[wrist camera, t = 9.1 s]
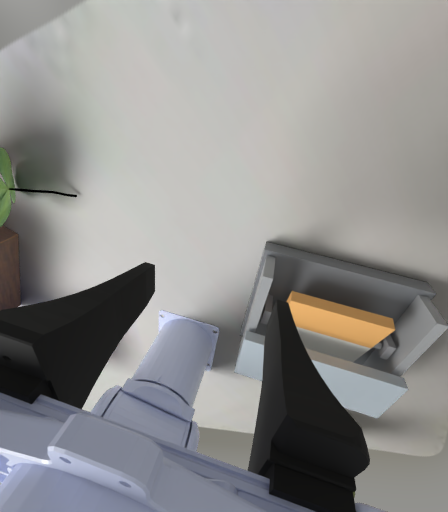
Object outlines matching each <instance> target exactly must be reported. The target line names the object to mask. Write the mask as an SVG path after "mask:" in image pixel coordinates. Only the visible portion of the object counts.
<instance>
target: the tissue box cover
mask: <svg viewBox="0 0 448 512" xmlns="http://www.w3.org/2000/svg"><path fill="white" fill-rule="evenodd" d="M20 305H21V297H20V270H19V243H18V234H17V233H15V232H13V231H11V230H10V229H8V228H6V227H4V226H1V227H0V311H1V310H3V309H10V308H16V307H18V306H20Z"/></svg>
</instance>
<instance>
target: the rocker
mask: <svg viewBox="0 0 448 512" xmlns="http://www.w3.org/2000/svg"><path fill="white" fill-rule="evenodd" d="M287 302H288V304H289V306H290V310H291V313H292V316H293V319H294V322H295V325H296V328H297V330H298V333H299V335H300V338H301V340H302V342H303V344H304V346H305V348H306V349H310V350H313V351H316V352H320V353H323V354H326V355H330V356H333V357H336V358H340V359H343V360H346V361H350V362H354V361H355V360H357V359H358V358H359V357H360V356H362V355H363V354H364V353H366V352H367V351H368V350H370V349H371V348H372V347H373V348H377V349H381V347H382V344H381V342H380V341H381V340H383V339H384V338H385V337H387V336H388V335H389V334H391V333H392V332H393V331H395V326H394V322H393V318H389V317H385V316H382V315H378V314H374V313H371V312H367V311H364V310H360V309H356V308H353V307H349V306H345V305H342V304H338V303H334V302H331V301H327V300H324V299H320V298H316V297H313V296H309V295H305V294H302V293H298V292H294V291H292V292H291V294H290V296H289V298H288V300H287Z"/></svg>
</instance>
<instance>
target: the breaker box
mask: <svg viewBox="0 0 448 512" xmlns="http://www.w3.org/2000/svg"><path fill="white" fill-rule="evenodd" d="M292 291H294V292H298V293H302V294H305V295H309V296H313V297H316V298H320V299H324V300H327V301H331V302H334V303H338V304H342V305H345V306H349V307H353V308H356V309H360V310H364V311H367V312H371V313H374V314H378V315H382V316H385V317H389V318H393V322H394V326H395V331H393V332H392V333H391V334H389V335H388V336H387V337H385V338H384V339H383V340H381V341H380V342H381V344H382V347H381V349H377V348H373V347H372V348H371V349H370V350H368V351H367V352H366V353H364V354H363V355H362V356H360V357H359V358H358V359H357V360H355V361H354V362H353V363H356V364H360V365H363V366H366V367H370V368H373V369H376V370H380V371H383V372H386V373H390V374H393V375H396V376H401V375H402V374H403V373H404V372H405V371H406V370H407V369H408V368H409V367H410V366H411V365H412V364H413V363H414V362H415V361H416V360H417V359H418V358H419V357H420V356H421V355H422V354H423V353H424V352H425V351H426V350H427V349H428V348H429V347H430V346H431V345H432V344H433V343H434V342H435V341H436V340H437V339H438V338H439V337H440V336H441V335H442V334H443V333H444V332H445V331H446V330H447V329H448V324H447V323H446V321H445V320H444V319H443V317H442V316H441V314H440V313H439V311H438V310H437V309H436V307H435V306H434V304H433V303H432V302H431V300H432V298H433V297H434V296H435V295H436V293H435V291H434V290H433V289H432V287H431V286H430V285H429V284H428V283H427V282H423V281H419V280H416V279H412V278H408V277H404V276H400V275H396V274H392V273H388V272H384V271H380V270H376V269H372V268H368V267H364V266H360V265H356V264H353V263H349V262H345V261H341V260H337V259H333V258H329V257H325V256H321V255H317V254H313V253H309V252H305V251H301V250H297V249H294V248H290V247H286V246H282V245H278V244H274V243H270V242H266V245H265V248H264V252H263V255H262V258H261V262H260V265H259V269H258V272H257V276H256V279H255V283H254V286H253V290H252V293H251V297H250V300H249V304H248V307H247V310H246V314H245V317H244V321H243V324H242V328H241V332H240V336H242V338H241V343H240V347H239V352H238V356H239V353H240V350H241V346H242V343H243V340H244V337H245V333H246V330H247V331H250V332H253V333H257V334H260V335H263V336H265V335H266V329H267V324H268V321H269V319H270V316H271V313H272V310H273V308H274V305H275V302H276V300H277V299H278V300H281V301H285V302H287V300H288V298H289V296H290V294H291V292H292ZM238 356H237V359H238ZM236 363H237V360H236ZM235 367H236V365H235Z"/></svg>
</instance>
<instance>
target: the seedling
mask: <svg viewBox="0 0 448 512" xmlns="http://www.w3.org/2000/svg"><path fill="white" fill-rule="evenodd" d="M0 173H1V175H2V177H3V179H4V181H5V183H6V184H5V183H4V182H3V181H2V179H1V178H0V227H1V226H2V225H3V224H4V222H5V221H6V220H7V218H8V216H9V214H10V211H11V198H12V201H13V203H15V191H25V192H40V193H54V194H60V195H64V196H70V197H77V195H72V194H65V193H60V192H56V191H46V190H28V189H17V188H15V186H14V179H13V175H12V170H11V161H10V159H9V156H8V154H7V152H6V151H5V149H4V148H0ZM10 195H11V198H10Z"/></svg>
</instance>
